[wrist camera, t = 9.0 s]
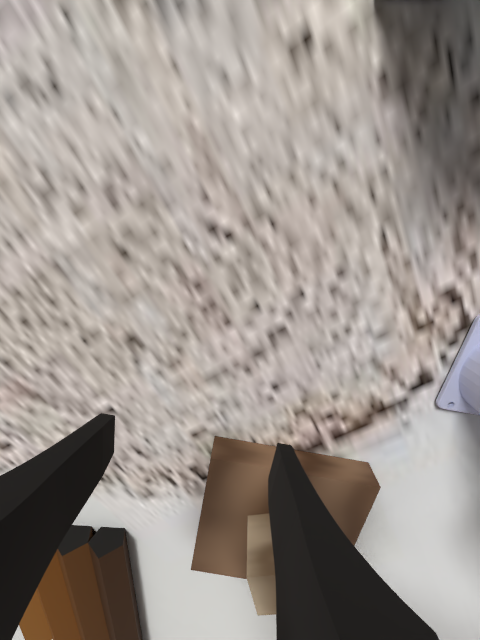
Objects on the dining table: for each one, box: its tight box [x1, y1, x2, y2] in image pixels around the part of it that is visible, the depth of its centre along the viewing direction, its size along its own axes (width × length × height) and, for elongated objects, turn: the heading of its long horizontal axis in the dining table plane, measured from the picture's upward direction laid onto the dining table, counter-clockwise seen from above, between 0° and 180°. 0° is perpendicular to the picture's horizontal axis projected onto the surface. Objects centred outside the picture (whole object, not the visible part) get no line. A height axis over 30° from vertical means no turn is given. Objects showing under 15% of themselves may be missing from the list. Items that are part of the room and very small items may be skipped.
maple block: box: [247, 514, 276, 615], centre depth 23 cm, size 4×4×4 cm
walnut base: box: [191, 436, 381, 579], centre depth 26 cm, size 14×14×2 cm
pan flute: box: [19, 525, 143, 640], centre depth 32 cm, size 25×3×25 cm
